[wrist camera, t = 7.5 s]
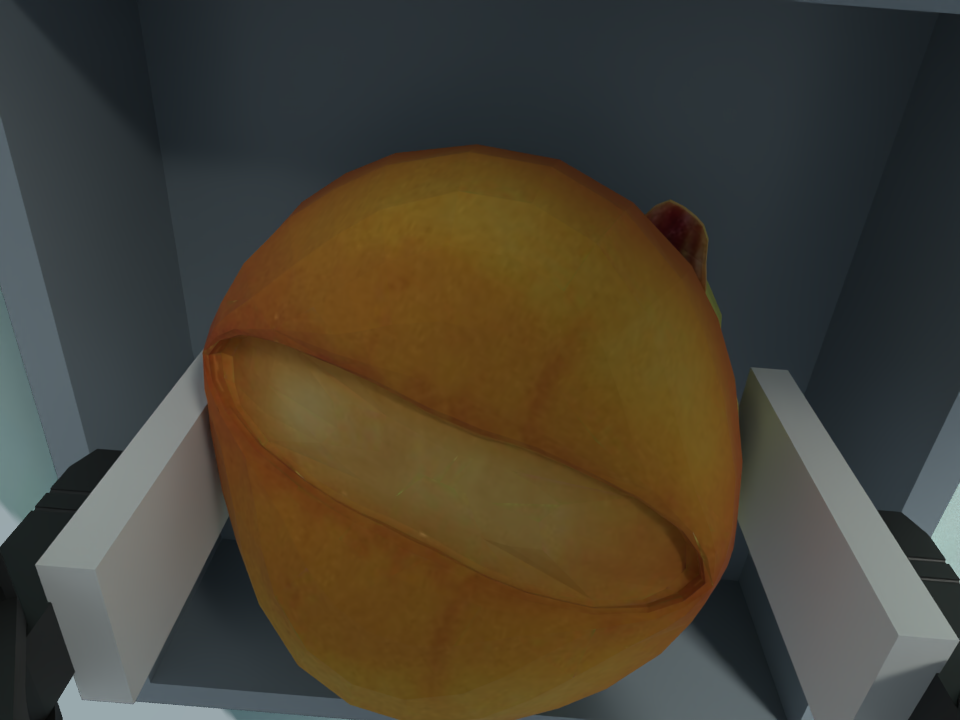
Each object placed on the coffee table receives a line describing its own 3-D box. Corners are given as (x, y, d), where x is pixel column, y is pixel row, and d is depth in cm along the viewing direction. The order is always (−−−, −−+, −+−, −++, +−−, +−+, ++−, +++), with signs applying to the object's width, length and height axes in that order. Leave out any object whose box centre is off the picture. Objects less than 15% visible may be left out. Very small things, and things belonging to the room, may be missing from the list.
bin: (104, -110, 14) (-127, -140, 9) (973, -43, 14) (1230, -36, 9) (211, 532, 23) (123, 700, 18) (748, 576, 23) (815, 757, 18)
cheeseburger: (378, 561, 21) (210, 901, 12) (269, 200, 18) (-66, 254, 9) (733, 512, 19) (882, 872, 10) (667, 100, 16) (782, 31, 7)
